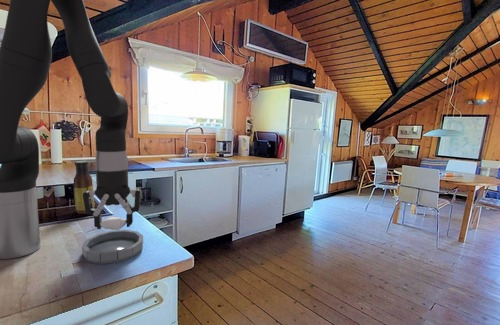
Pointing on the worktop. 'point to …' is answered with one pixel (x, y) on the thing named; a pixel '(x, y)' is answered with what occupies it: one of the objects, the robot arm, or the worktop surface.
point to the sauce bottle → (82, 185)
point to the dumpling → (113, 223)
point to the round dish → (112, 246)
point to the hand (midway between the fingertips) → (114, 226)
